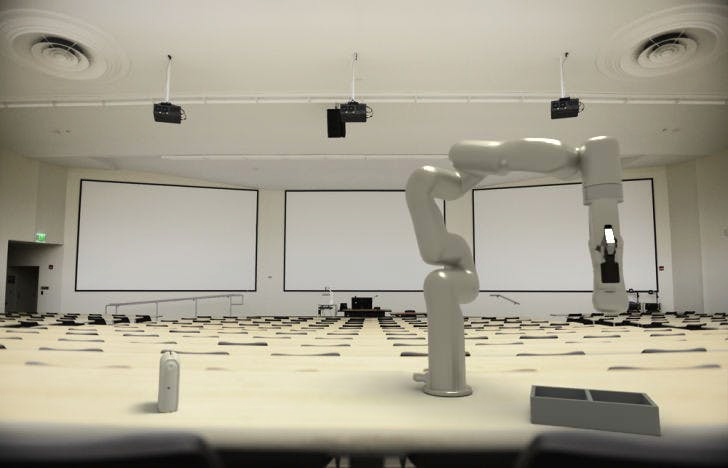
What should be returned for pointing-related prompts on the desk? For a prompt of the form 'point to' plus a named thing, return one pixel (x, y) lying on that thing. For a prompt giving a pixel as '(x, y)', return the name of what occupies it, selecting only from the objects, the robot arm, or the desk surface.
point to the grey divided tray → (595, 409)
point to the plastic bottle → (608, 284)
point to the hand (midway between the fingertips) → (608, 282)
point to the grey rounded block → (169, 382)
